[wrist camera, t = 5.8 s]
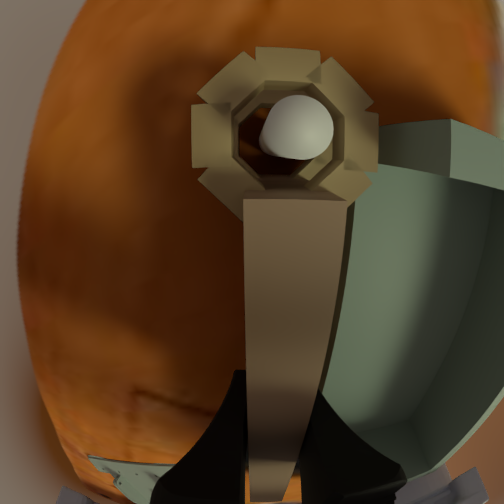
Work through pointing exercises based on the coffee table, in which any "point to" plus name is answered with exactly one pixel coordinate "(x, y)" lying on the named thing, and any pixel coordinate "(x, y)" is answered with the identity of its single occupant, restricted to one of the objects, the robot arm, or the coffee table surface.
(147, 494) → the metal bracket
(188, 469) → the robot arm
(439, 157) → the sage green open box
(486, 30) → the coffee table surface
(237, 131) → the brown gear-headed lever
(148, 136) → the coffee table surface
